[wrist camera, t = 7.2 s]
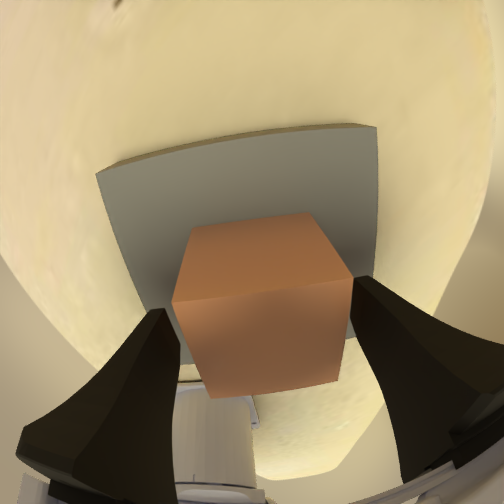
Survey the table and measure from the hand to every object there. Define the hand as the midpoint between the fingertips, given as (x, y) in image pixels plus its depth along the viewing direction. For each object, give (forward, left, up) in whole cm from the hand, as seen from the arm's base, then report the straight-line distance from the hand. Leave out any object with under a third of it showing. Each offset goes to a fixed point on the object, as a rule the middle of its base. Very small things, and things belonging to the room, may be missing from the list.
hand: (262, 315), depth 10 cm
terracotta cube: (0, 0, -3) cm, 3 cm away
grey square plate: (0, 0, -6) cm, 6 cm away
